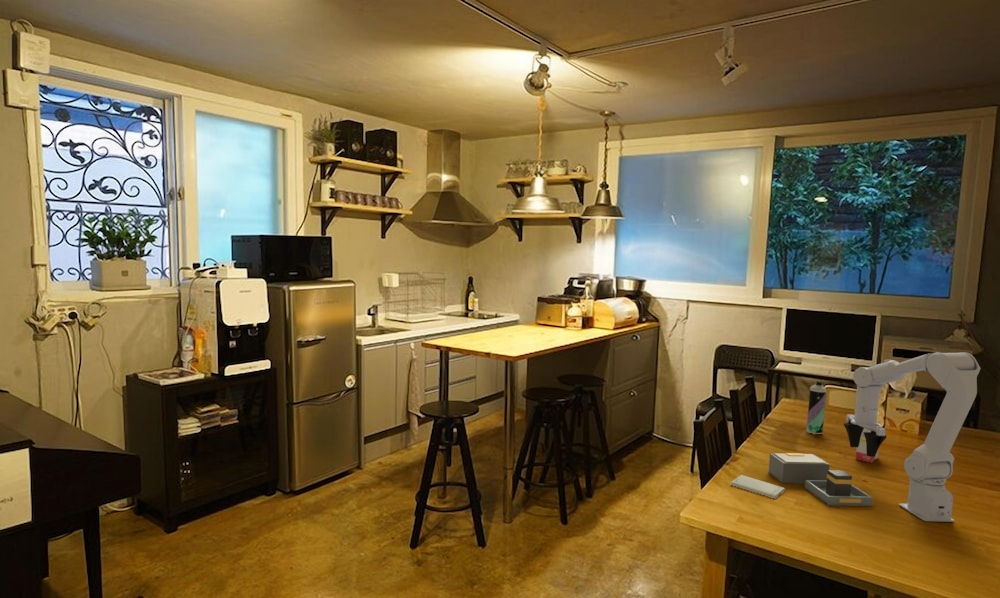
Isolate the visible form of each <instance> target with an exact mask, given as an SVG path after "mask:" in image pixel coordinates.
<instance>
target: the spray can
mask: <svg viewBox="0 0 1000 598" xmlns="http://www.w3.org/2000/svg"><path fill="white" fill-rule="evenodd" d="M826 397H827V388H826V387H825V386H824V385H823V384H822V382H821V381H819V380H816V382H815V383H814V385H811V386H810V387H809V398H808V408H807V420H806V433H808V434H810V433H812V434H811V435H815V434H822V435H823V433H824V432H823V431H824V421H825V409H826V401H827V400H826V399H827V398H826Z"/></svg>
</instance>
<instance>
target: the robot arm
mask: <svg viewBox="0 0 1000 598" xmlns="http://www.w3.org/2000/svg"><path fill="white" fill-rule="evenodd" d="M980 370H981V367H980V365H979V363H978V361H977V359H976V358H975V356H973V355H972V354H971V353H969V352H965V351H961V352H933V353H925V354H923V355H919V356H917V357H913V358H910V359H907V360H904V361H901V362H899V361H897V360H894V359H884V360H883V362H882V363H881V362H880V363H878V364H876V363H872V364H870V366H869V367H864V366H859V367H858V368H856V369H855V370H854V371H853V373H852V378H853V382H854V383H855V384H856V393H855V394H856V396H855V407H854V414H846V418H845V419H846V422H844V423H843V426H844V428H845V430H846V433H847V436H848V437H847V438H848V441H849V447H851V448H857V447H858V446H859V443H860V437H861V434H862V431H863V429H864V428H865V429H867V430H870V431H871V433H870V432H864V436H865V439H866V452H867V456H871V457H875V455H876V453H877V451H878V452H879V448H880V446H881V445H882V443H883V442H884V441H885V440H886V439H887V435H886V428H884V427H883V426H882V425H881V426H880V425H879V424H880V423H878V413H879V412H878V411H879V405H880V404H879V402H880V393H881V392H882V389H883V386H884V385H885V384H890V383H894V382H898V381H901V380H903V379H904V378H905V375H906V374H907V375H908V374H913V373H918V372H921V371H924V372H928V373H929V375H931V376H932V378H933V379H934V380H935V381H936V382H937V383H938V384H939V385H940V386H941V388H942V389H944V390H945V391H946V394H945V397H944V398H943V400H942V403H941V405H940V407H939V410H938V411H937V414H936V415H935V418H934V421H933V423H932V425H931V427H930V429H929V432H928V434H927V436H926V438H925V441H924V442H923V444H921V445H920V446H918V447H916V448H915V449H914V450H913V451H912V453H911V454H910V455H909V456H908V457H906V458H905V460H904V463H903V467H904V471H905V473H906V474H907V477H908V478H909V488H908V495H907V503H898V505H899V506H900V507H901V508H903V509H904V510H906V511H908V512H909V513H911V514H913V515H915V517H917V518H919V519H920V520H922V521H924V522H947V523H948V522H952V523H954V522H955V519H954V518H952V516H953V515H952V514H953V506H954V497H953V494H952V492H951V491H949V490H948V489H947V488H946V486H945V483H946V482H947V479H948V478H950V477H951V476H952V474H953V471H954V467H953V466H954V461H955V456H954V455H953V454H952V453H951V452H950V451H951V450H952V447H953V445H954V443H955V441H956V439H957V437H958V435H959V433H960V431H961V429H962V427H963V424H964V422H965V420H966V419H967V416H968V414H969V411H970V410H971V408H972V406H973V403H974V401H975V399H976V397H977V394H978V382H977V377H978V375H979V374H980Z"/></svg>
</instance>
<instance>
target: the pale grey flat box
mask: <svg viewBox="0 0 1000 598" xmlns="http://www.w3.org/2000/svg"><path fill="white" fill-rule="evenodd" d="M830 465H831V464H830V463H829V462H827V461H825V460H823V458H820V457H819V456H817V455H816V454H812V453H801V452H800V453H799V452H785V453H782V452H781V453H776V452H774V453H769V463H768V473H769V474H770V475H771V474H772V475H771V476H772V477H773V478H775V479H776V478H777V481H779V482H780V481H781V482H782V484H805V480H827V472H828V470H830V469H831V468H830V467H831V466H830ZM781 482H780V483H781Z"/></svg>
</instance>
